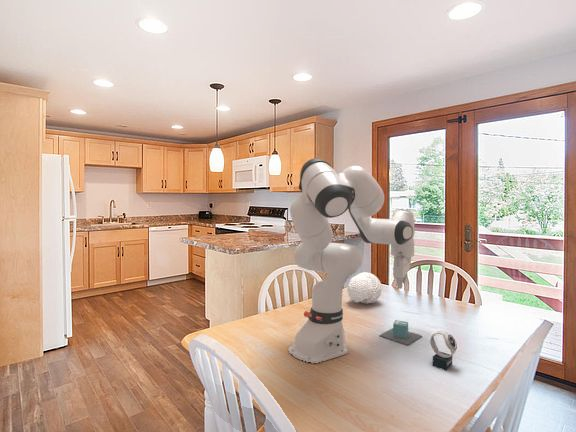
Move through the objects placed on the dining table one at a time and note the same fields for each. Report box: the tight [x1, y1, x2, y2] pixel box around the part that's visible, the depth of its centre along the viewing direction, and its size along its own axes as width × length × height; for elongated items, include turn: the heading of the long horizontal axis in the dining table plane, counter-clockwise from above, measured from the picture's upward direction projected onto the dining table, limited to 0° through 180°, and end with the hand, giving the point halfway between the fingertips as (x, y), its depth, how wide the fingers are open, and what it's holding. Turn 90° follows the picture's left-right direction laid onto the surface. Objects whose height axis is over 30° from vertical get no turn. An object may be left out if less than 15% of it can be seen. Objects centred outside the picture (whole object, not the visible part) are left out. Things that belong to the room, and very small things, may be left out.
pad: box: [378, 327, 423, 347], centre depth 134 cm, size 12×12×1 cm
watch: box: [429, 330, 458, 371], centre depth 111 cm, size 6×8×11 cm
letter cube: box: [392, 319, 409, 339], centre depth 134 cm, size 5×5×5 cm
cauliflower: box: [346, 271, 383, 304], centre depth 174 cm, size 20×18×16 cm
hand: (401, 285), depth 133 cm, fingers open, 8 cm apart
